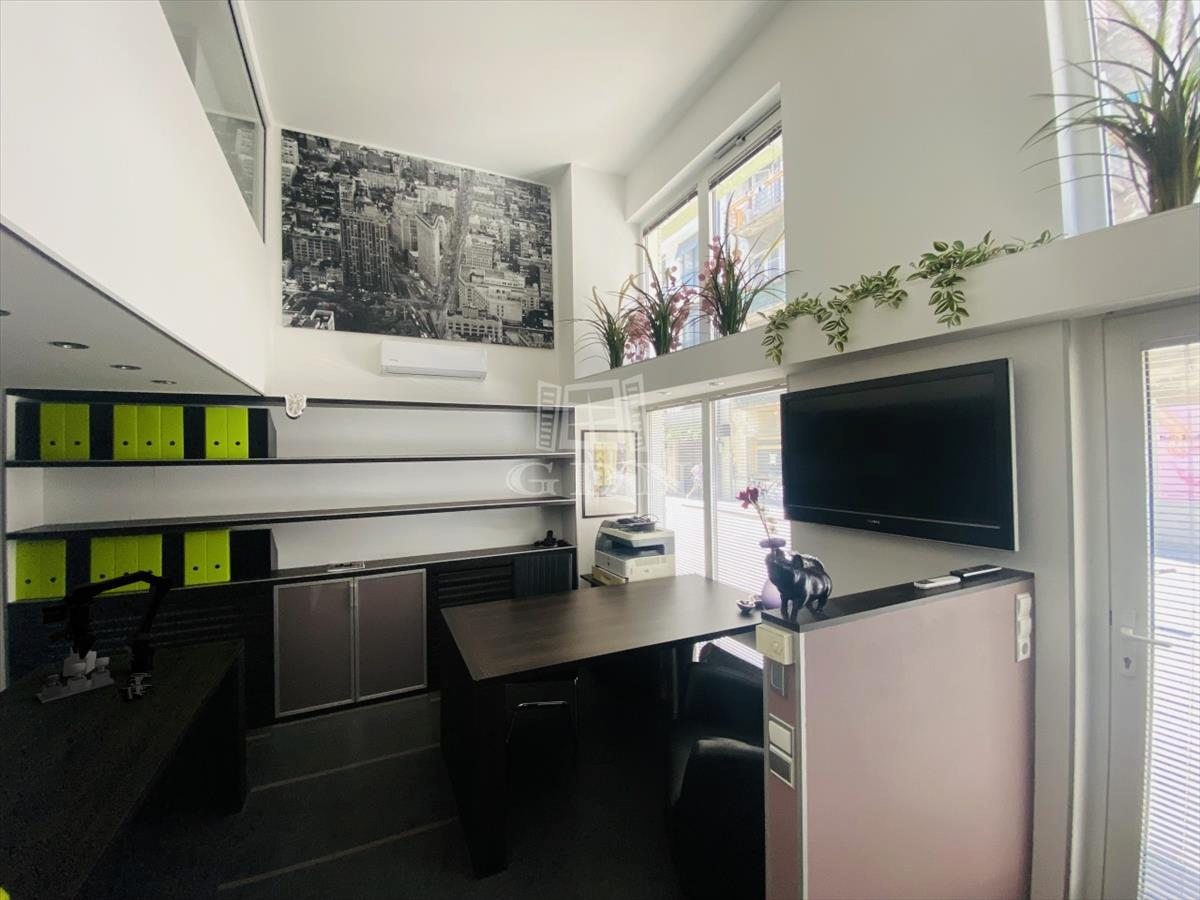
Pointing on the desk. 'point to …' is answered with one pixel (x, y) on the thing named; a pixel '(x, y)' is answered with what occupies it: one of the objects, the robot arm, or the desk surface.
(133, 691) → the nameplate
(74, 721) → the desk surface
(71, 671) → the knob
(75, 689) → the mount strip
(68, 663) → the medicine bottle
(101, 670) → the knob
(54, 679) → the pot knob
